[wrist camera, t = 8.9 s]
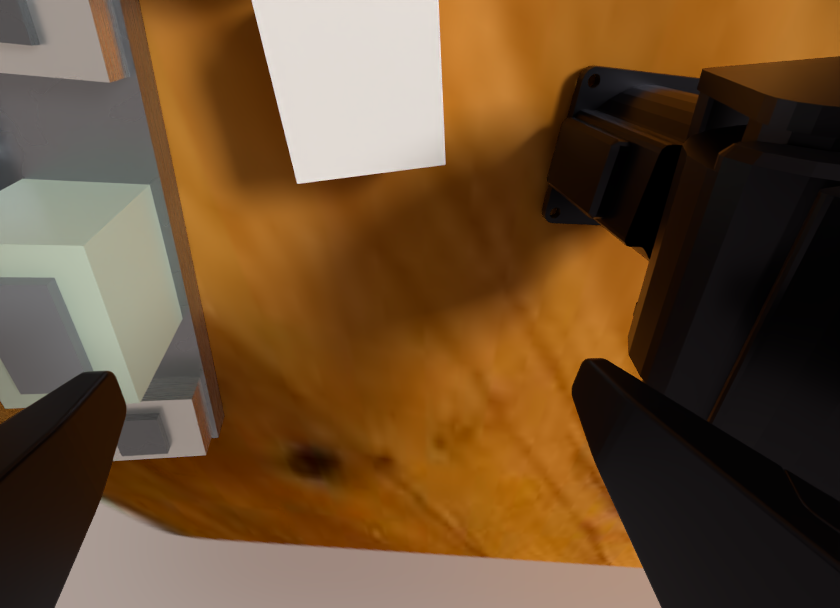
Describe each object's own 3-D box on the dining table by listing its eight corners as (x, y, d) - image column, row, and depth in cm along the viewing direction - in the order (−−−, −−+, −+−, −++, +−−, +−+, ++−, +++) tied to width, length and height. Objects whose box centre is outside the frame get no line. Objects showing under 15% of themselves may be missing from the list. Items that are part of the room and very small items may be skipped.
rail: (117, -103, 12) (55, -135, 10) (224, 416, 25) (209, 467, 22) (-136, -144, 11) (-288, -194, 9) (106, 421, 23) (75, 476, 21)
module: (149, 184, 16) (76, 252, 11) (182, 318, 19) (135, 411, 14) (22, 178, 15) (-111, 249, 10) (79, 319, 18) (-3, 418, 14)
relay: (415, -13, 15) (437, -19, 12) (425, 136, 18) (445, 164, 15) (270, 1, 15) (251, -2, 11) (304, 151, 17) (297, 184, 14)
